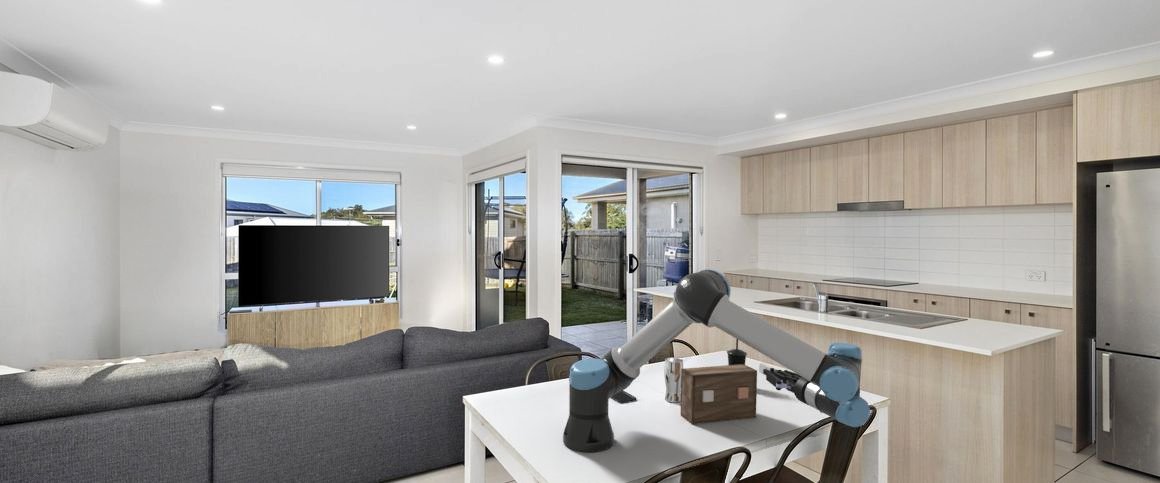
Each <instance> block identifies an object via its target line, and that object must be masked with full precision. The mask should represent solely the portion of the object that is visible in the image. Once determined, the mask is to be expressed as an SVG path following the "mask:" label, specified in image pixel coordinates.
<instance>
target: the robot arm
mask: <svg viewBox="0 0 1160 483" xmlns="http://www.w3.org/2000/svg"><path fill="white" fill-rule="evenodd" d="M730 297H731V285H730V282H729V280H728V279H727V277H726V276H725V275H724V274H722V273H721V272H719V271H717V270H713V269H702V270H700V271H697V272H692V273H689V274H687V275H685V276H683V277H682V278H681V279H680V280H679V282H678V284H677V285H676V287H675V291H674V292H673V294H672V301H671V302H670V303H668V305H667V306H665V307H664V308H663V309H662V310H661V311H660V312H659V313H657V315H655V316H654V317H653V318H651V320H650V321H649V322H647V323H646V324H645V325H644V326H643V327H642V328H641V329H640V330H638V331H637V332H636V333H635V334H634V335H633V336H632V337H631V338H630V339H628V340H627V341H626V342H625V343H624V344H623V345H622V346H620V345H617V346H614V347H612V348H611V349H610V350H609V351H608V352H606V354H604V355H603V357H601V358H592V357H591V358H586V359H580V360H578V361H576V362H575V363H573V364H572V365H571V367H570V369H569V377H568V381H569V387H568V388H569V389H568V390H569V391H568V392H569V395H568V398H569V400H568V401H569V402H568V403H569V404H568V406H569V407H568V408H569V409H568V410H569V414H568V418H567V422H566V424H565V428H564V430H563V434H562V441H563V444H564V446H566V447H567V448H569V449H571V450H573V451H577V452H581V453H582V452H584V453H595V452H596V453H597V452H601V451H606V450H608V449H609V448H611V447H612V446H613V445H614V443H615V435H614V434H615V433H614V431H613V427H612V424H611V421H610V418H609V417H610V416H609V399H611V397H612V396H614V395H615V394H617V393H619V392H620V391H622V390H623V391H625V390H626V389H627V388H629V387H630V386H631V384H632V383H633V381H634V380H636V379H637V378H638V377H639V376H640V374H641V368H642V367H643V366H644V365H646V364H647V363H648V362H649V361H650V360H651V359H653V357H655V356H656V355H657V354H658V353H660V351H662V350H663V349H664V348H665V347H667V346H668V344H670V343H671V342H672V341H674V339H676V338H677V337H679V335H681V334H682V332H684V331H685V330H687V328H688V327H691V325H692V324H703V325H704V326H705V327H707V328H714V327H716V328H717V329H719V330H720V331H722V332H724V333H725V334H727V335H729V336H731V337H732V338H735V339H738V341H740V342H742V343H743V344H745V345H746V346H748V347H750V348H751V349H754V350H755V351H757V352H759V353H760V354H762V355H764V356H766V357H768V358H769V359H771V360H772V361H774V362H777V363H778V364H780V365H781V366H783V367H785V368H786V369H784V370H781V369H777V368H774V367H772V366H770V365H768V364H766V363H764V362H763V363H759V365H758V373H760V374H762V375H765V380H766V381H767V382H768V383H769V384H771V385H772V386H773V387H775V390H776V391H781V390H783V389H785V390H786V391H789V392H790V393H793V394H794V397H795V398H796V399H797V400H798V401H799V402H800V403H803V404H805V405H806V406H810V407H812V408H814V409H815V410H817V411H818V412H820V413H821V414H825V415H827V416H828V417H830V418H833V419H834V420H836V421H837V422H839V423H841V424H844V425H846V426H849V427H852V428H858V427H862V426H863V425H865V424H866V422H868V419H869V418H870V415H871V408H870V406H869V402H867V400H866V399H864V398H863V397H862V396H861V395H860V394H861V387H860V386H861V376H862V362H863V358H862V348H861V347H860V346H858V345H856V344H853V343H849V342H848V343H847V342H832V343H830V344H829V345H828V351H827V354H826V353H825V352H823V351H821V350H820V349H818V348H817V347H815V346H813V345H811V344H810V343H807V342H805V341H804V340H802V339H800V338H798V337H796V336H794V335H793V334H792V333H789V332H787V331H785V330H784V329H782V328H780V327H778V326H777V325H774V324H773V323H771V322H769V321H768V320H765V319H763V318H762V317H760V316H758V315H756V314H755V313H753V312H752V311H749V310H747V309H746V308H743V307H742V306H740V305H738V304H737V303H734V302H732V301H731V300H730Z"/></svg>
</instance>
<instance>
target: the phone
mask: <svg viewBox="0 0 1160 483" xmlns="http://www.w3.org/2000/svg"><path fill="white" fill-rule="evenodd" d="M610 399H611V400H612V401H614V402H616V403H618V404H625V403H631V402H636V401H637V396H634V395H632V394H631V393H628V392H627V391H625V390H622V391H620V392H619V393H617V394H615V395H614V396H612V397H611V398H610Z"/></svg>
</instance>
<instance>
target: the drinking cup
mask: <svg viewBox="0 0 1160 483" xmlns="http://www.w3.org/2000/svg"><path fill="white" fill-rule="evenodd" d="M735 339H736V338H735ZM726 353H727V361H728V363H727V365H738V364H744V365H746V359H747V355H748V353H747V352H746V351H745V350H742V349H739V340H738V339H736V341H735V348H732V349H730V350H727V352H726Z"/></svg>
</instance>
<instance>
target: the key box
mask: <svg viewBox="0 0 1160 483" xmlns="http://www.w3.org/2000/svg"><path fill="white" fill-rule="evenodd" d="M739 386H747V387H748V398H743V399H738V398H737V387H739ZM706 389H712V390H714V399H713V401H712V402H702V390H706ZM757 389H758V370H757V369H755V368H752V367H750V366H748V365H747V364H745V365H744V364H738V365H728V364H726V365H714V366H702V367H701V366H700V367H689V368H686V367H685V368H683V369H681V402H680V417H682V418H683V419H684V420H686V421H687V422H688V423H690V424H691V425H698V424H709V423H716V422H725V421H726V422H727V421H735V420H743V419H745V420H746V419H754V418H757V396H758V395H757V393H758V392H757Z"/></svg>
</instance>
